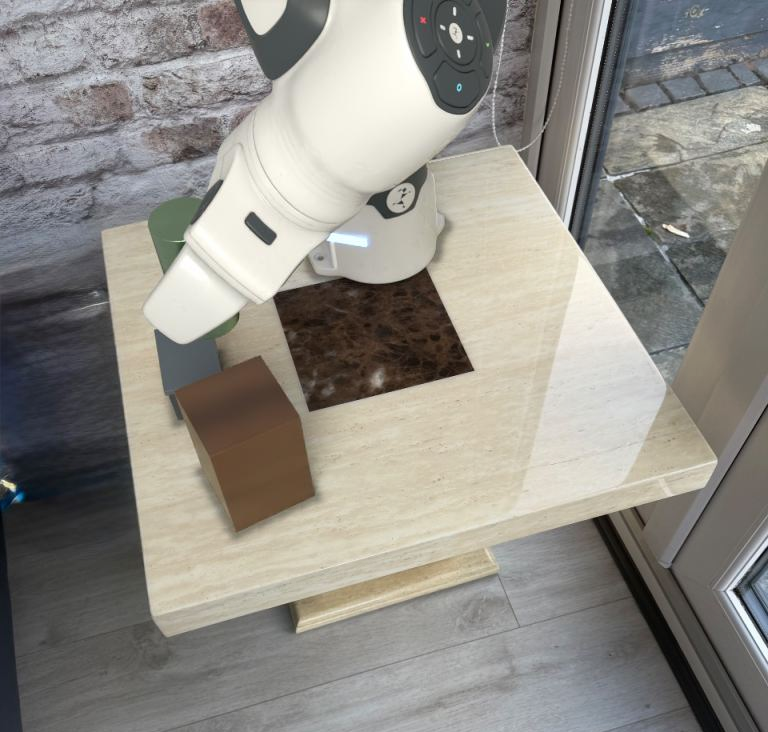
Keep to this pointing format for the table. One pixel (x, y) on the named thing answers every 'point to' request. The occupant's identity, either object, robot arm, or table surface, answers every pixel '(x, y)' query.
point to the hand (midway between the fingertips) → (188, 266)
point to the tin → (178, 241)
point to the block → (247, 441)
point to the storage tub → (185, 364)
